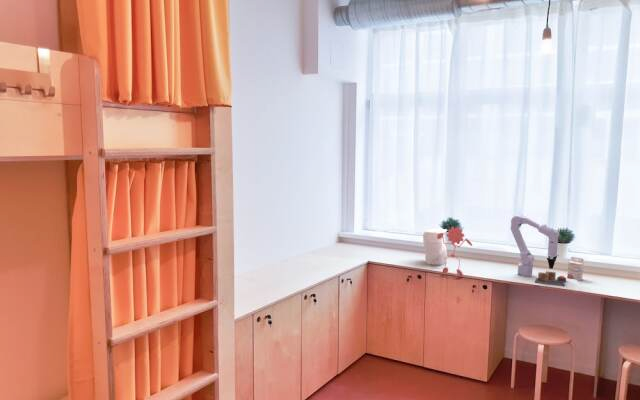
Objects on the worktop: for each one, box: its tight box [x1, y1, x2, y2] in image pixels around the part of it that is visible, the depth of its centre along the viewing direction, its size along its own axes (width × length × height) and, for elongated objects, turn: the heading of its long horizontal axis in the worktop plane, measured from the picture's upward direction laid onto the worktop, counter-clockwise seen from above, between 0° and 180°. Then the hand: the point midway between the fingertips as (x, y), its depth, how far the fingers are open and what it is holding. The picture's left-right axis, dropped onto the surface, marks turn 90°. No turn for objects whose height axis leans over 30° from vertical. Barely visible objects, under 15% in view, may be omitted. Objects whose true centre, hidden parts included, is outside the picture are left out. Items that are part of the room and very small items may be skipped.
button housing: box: [556, 276, 567, 283], centre depth 331 cm, size 5×5×3 cm
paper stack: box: [422, 228, 448, 266], centre depth 381 cm, size 21×27×26 cm
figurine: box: [437, 226, 473, 280], centre depth 344 cm, size 15×26×35 cm, turn 54°
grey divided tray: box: [534, 277, 566, 287], centre depth 325 cm, size 18×9×2 cm, turn 61°
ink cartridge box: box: [566, 256, 584, 281], centre depth 340 cm, size 9×5×15 cm, turn 44°
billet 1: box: [537, 271, 549, 282], centre depth 327 cm, size 6×4×6 cm, turn 61°
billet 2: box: [545, 270, 556, 281], centre depth 334 cm, size 6×4×6 cm, turn 61°
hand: (551, 267), depth 333 cm, fingers open, 7 cm apart
